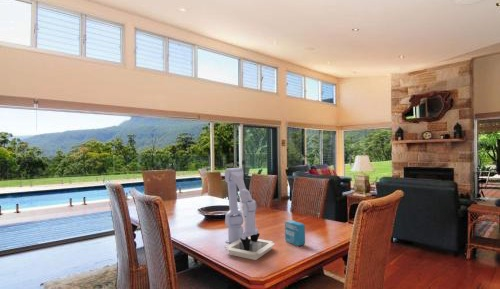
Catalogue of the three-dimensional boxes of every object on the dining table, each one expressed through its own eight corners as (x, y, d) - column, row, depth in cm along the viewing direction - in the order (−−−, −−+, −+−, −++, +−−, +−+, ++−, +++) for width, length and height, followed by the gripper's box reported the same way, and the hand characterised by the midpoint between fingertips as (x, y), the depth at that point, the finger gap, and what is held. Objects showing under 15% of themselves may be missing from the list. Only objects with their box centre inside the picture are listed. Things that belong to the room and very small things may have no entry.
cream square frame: (244, 242, 169) (244, 236, 169) (277, 248, 159) (277, 242, 159) (222, 255, 150) (221, 248, 150) (257, 262, 139) (257, 255, 139)
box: (243, 248, 159) (243, 239, 159) (261, 252, 153) (261, 242, 154) (239, 251, 155) (239, 242, 155) (257, 254, 150) (257, 245, 150)
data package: (285, 241, 170) (284, 221, 171) (290, 239, 173) (290, 219, 173) (299, 246, 161) (299, 225, 161) (305, 245, 163) (305, 224, 164)
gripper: (249, 228, 146) (250, 254, 146) (262, 221, 159) (263, 246, 159) (237, 226, 150) (238, 252, 150) (251, 220, 162) (252, 244, 162)
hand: (250, 249), depth 154 cm, fingers open, 7 cm apart
